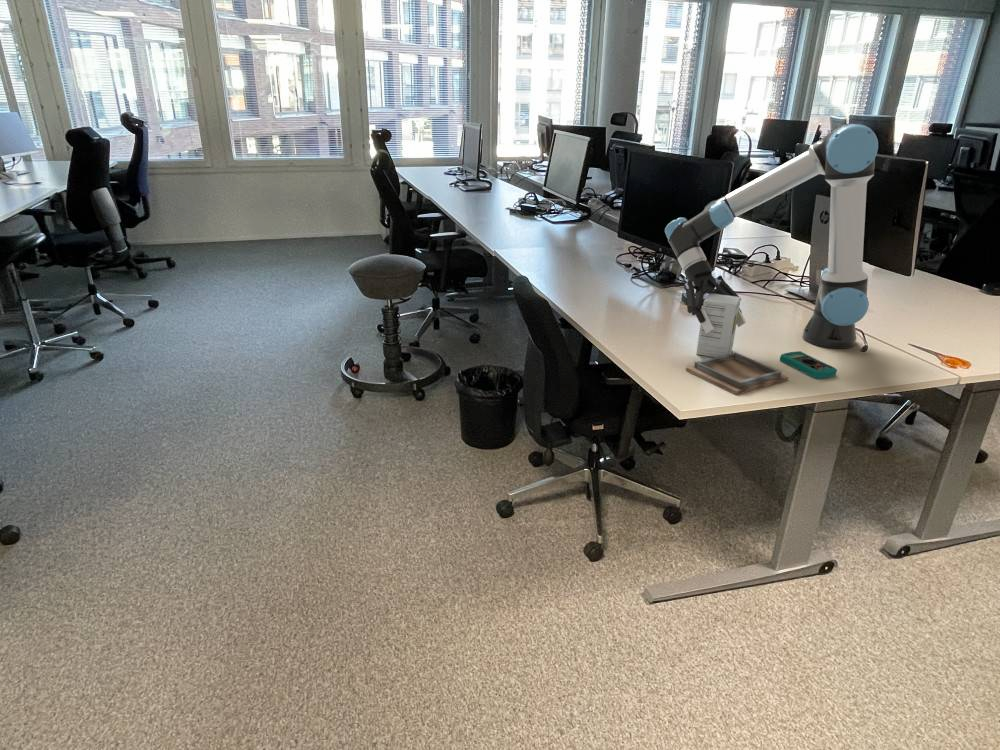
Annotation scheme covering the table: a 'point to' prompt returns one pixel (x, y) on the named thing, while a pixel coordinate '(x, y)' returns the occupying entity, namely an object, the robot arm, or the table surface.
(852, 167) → the robot arm
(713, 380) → the carrier plate
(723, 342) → the supplement box
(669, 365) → the table surface
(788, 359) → the digital multimeter
